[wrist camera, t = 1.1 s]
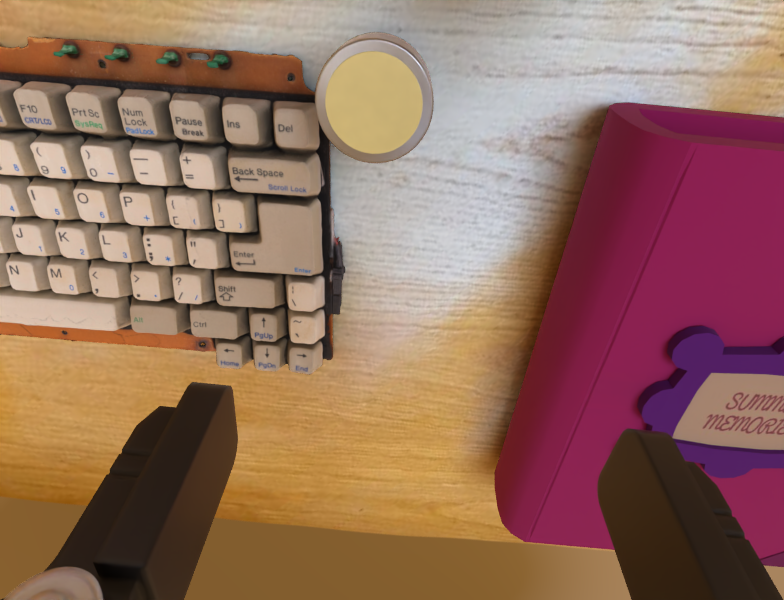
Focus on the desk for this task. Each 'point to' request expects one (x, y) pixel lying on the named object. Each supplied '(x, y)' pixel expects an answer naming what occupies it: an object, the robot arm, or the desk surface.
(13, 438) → the desk surface
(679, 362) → the book
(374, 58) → the torch
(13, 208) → the mechanical keyboard
